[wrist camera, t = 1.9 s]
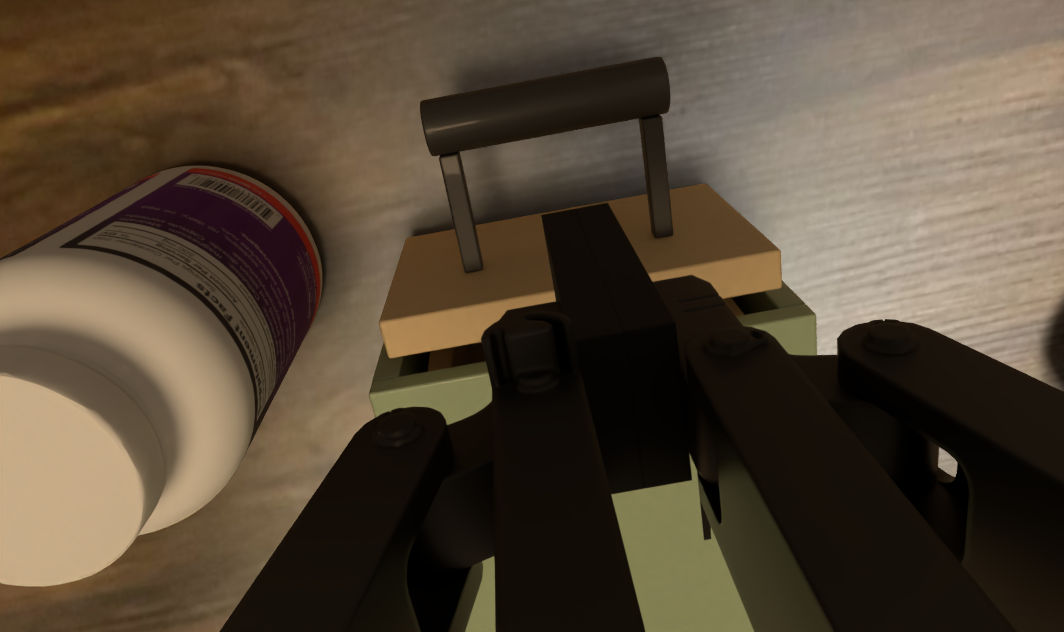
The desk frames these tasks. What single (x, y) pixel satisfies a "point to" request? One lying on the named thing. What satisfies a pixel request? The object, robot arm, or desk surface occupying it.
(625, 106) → the drawer
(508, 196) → the desk surface
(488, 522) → the robot arm
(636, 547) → the cabinet
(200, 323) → the pill bottle
